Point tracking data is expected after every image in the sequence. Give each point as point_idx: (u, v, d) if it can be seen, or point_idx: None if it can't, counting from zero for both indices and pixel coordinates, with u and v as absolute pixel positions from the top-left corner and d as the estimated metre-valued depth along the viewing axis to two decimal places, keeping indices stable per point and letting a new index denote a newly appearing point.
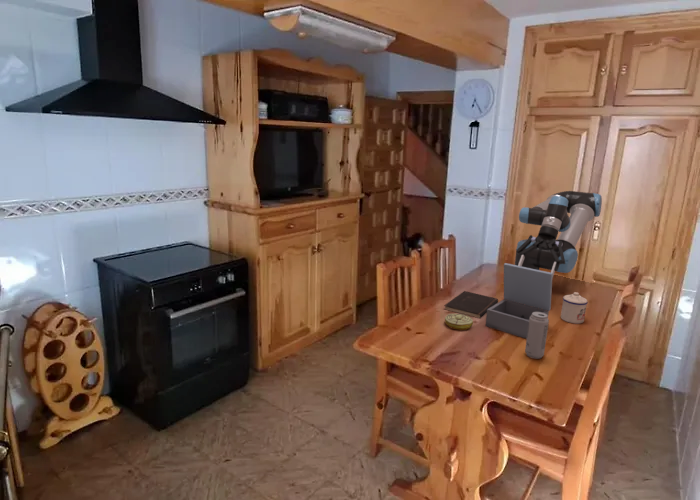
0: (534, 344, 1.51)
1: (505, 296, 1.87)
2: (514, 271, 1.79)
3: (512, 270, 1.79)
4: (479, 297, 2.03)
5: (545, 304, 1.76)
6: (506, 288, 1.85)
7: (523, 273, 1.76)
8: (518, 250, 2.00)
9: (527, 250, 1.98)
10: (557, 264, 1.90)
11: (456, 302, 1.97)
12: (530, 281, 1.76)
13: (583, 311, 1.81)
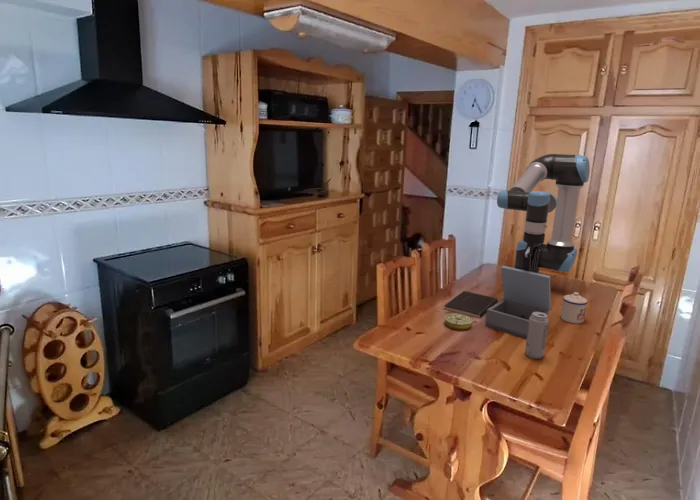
0: (534, 344, 1.51)
1: (505, 296, 1.86)
2: (512, 274, 1.78)
3: (510, 273, 1.78)
4: (479, 297, 2.03)
5: (545, 305, 1.75)
6: (505, 289, 1.84)
7: (521, 276, 1.75)
8: None
9: (532, 267, 1.76)
10: None
11: (456, 302, 1.97)
12: (529, 283, 1.75)
13: (583, 311, 1.81)
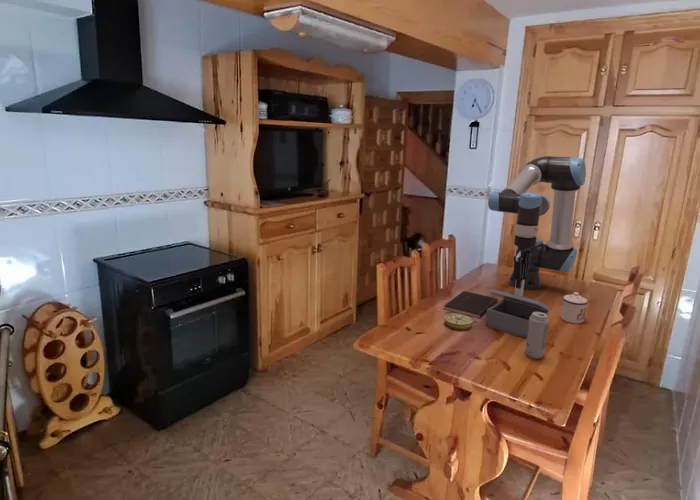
0: (534, 344, 1.51)
1: (504, 298, 1.86)
2: (502, 295, 1.74)
3: (500, 294, 1.74)
4: (479, 297, 2.03)
5: (544, 308, 1.75)
6: (502, 297, 1.83)
7: (511, 297, 1.72)
8: (520, 277, 1.68)
9: (523, 271, 1.69)
10: None
11: (455, 302, 1.97)
12: (521, 301, 1.72)
13: (583, 311, 1.81)
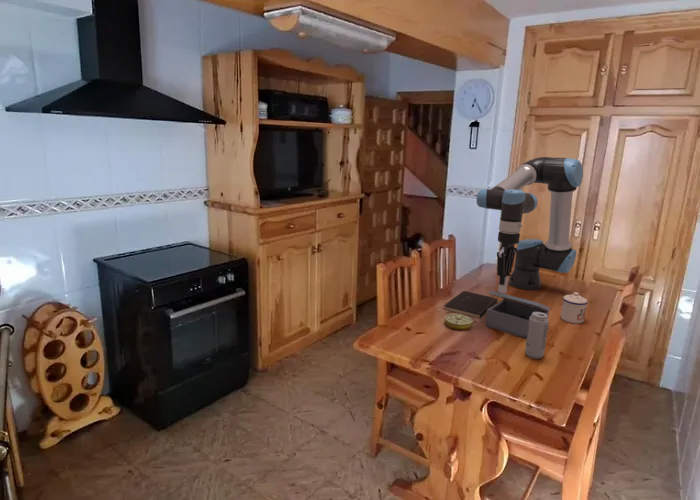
0: (534, 344, 1.51)
1: (504, 298, 1.86)
2: None
3: (500, 296, 1.74)
4: (479, 297, 2.03)
5: None
6: (502, 297, 1.83)
7: (511, 299, 1.72)
8: (504, 273, 1.68)
9: (507, 268, 1.69)
10: None
11: (455, 301, 1.97)
12: (521, 302, 1.72)
13: (583, 311, 1.81)
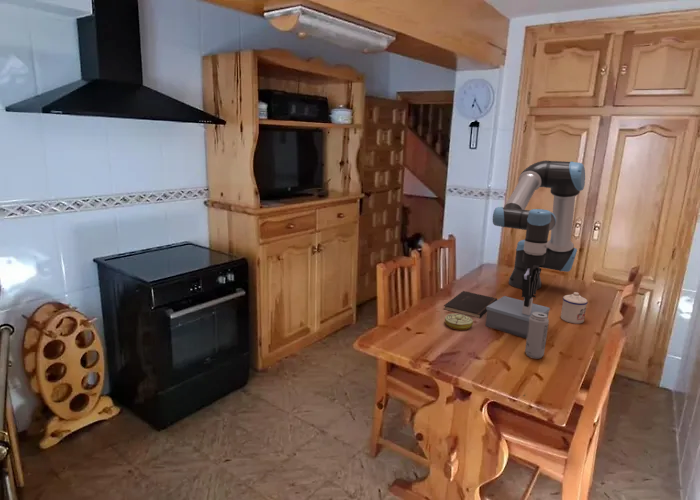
0: (534, 344, 1.51)
1: None
2: None
3: None
4: (478, 297, 2.03)
5: None
6: None
7: None
8: (529, 295, 1.64)
9: (532, 289, 1.65)
10: None
11: (455, 301, 1.97)
12: None
13: (583, 311, 1.81)
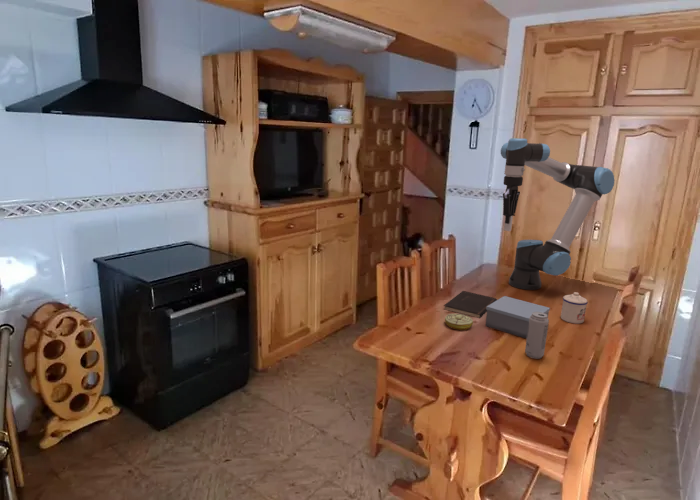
0: (534, 344, 1.51)
1: None
2: None
3: None
4: (478, 297, 2.03)
5: None
6: None
7: None
8: (509, 213, 1.92)
9: (511, 208, 1.93)
10: None
11: (455, 301, 1.97)
12: None
13: (583, 311, 1.81)
